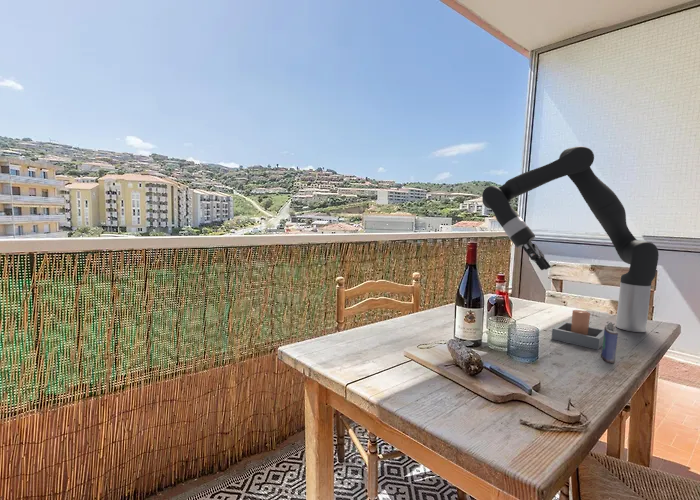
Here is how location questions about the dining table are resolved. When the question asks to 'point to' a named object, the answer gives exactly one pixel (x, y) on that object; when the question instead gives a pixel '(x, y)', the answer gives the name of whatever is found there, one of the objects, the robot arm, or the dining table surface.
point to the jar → (580, 322)
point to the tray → (578, 336)
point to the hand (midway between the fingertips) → (546, 268)
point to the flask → (609, 343)
